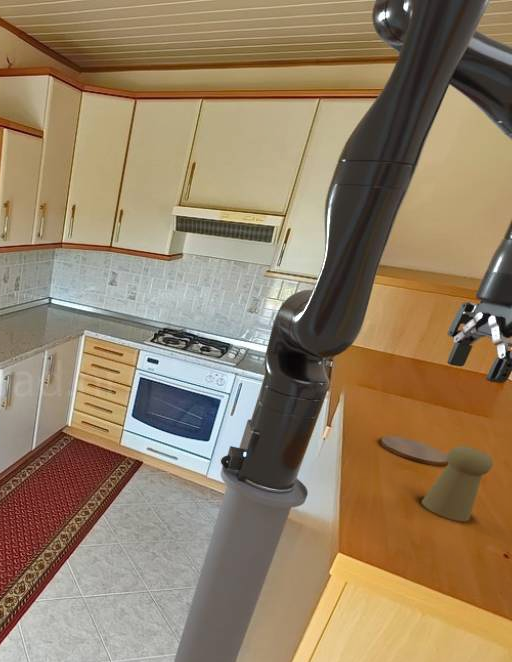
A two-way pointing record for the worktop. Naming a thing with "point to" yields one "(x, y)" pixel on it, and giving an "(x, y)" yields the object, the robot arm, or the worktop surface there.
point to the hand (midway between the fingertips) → (473, 373)
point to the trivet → (414, 450)
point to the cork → (458, 483)
